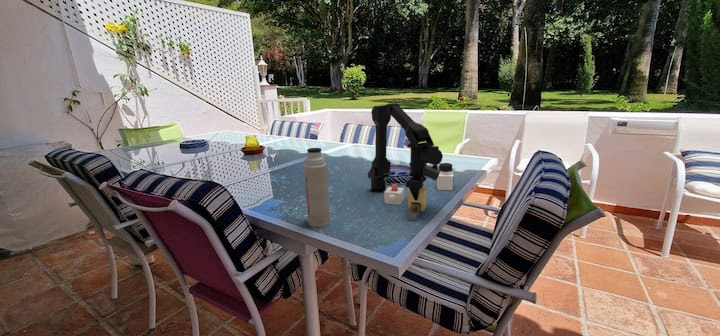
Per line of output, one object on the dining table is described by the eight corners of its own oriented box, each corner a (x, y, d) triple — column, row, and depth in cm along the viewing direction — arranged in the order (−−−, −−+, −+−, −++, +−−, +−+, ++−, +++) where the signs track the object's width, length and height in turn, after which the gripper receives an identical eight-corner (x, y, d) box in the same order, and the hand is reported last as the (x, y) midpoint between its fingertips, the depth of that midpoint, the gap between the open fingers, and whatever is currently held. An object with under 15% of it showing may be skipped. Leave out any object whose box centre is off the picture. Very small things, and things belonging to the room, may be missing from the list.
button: (391, 190, 133) (390, 185, 132) (392, 188, 135) (392, 183, 135) (396, 190, 132) (396, 186, 132) (397, 188, 134) (397, 184, 134)
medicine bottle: (453, 190, 145) (454, 165, 142) (437, 190, 147) (438, 165, 144) (451, 185, 152) (453, 161, 149) (436, 185, 154) (437, 161, 150)
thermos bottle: (307, 227, 113) (301, 151, 106) (309, 218, 121) (303, 147, 113) (329, 226, 114) (325, 150, 106) (330, 217, 121) (325, 145, 114)
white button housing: (384, 203, 133) (384, 192, 131) (388, 197, 139) (388, 186, 138) (400, 205, 130) (400, 193, 129) (404, 198, 137) (404, 188, 136)
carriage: (408, 209, 126) (408, 189, 123) (410, 204, 130) (410, 185, 128) (424, 210, 124) (424, 190, 121) (425, 206, 128) (426, 186, 126)
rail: (408, 220, 116) (408, 212, 116) (414, 204, 131) (414, 197, 130) (416, 220, 115) (416, 213, 115) (422, 204, 130) (422, 198, 129)
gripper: (436, 167, 111) (435, 208, 115) (441, 155, 128) (439, 191, 132) (405, 165, 114) (405, 205, 118) (413, 154, 131) (413, 189, 135)
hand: (417, 197), depth 126 cm, fingers closed on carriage, 5 cm apart
